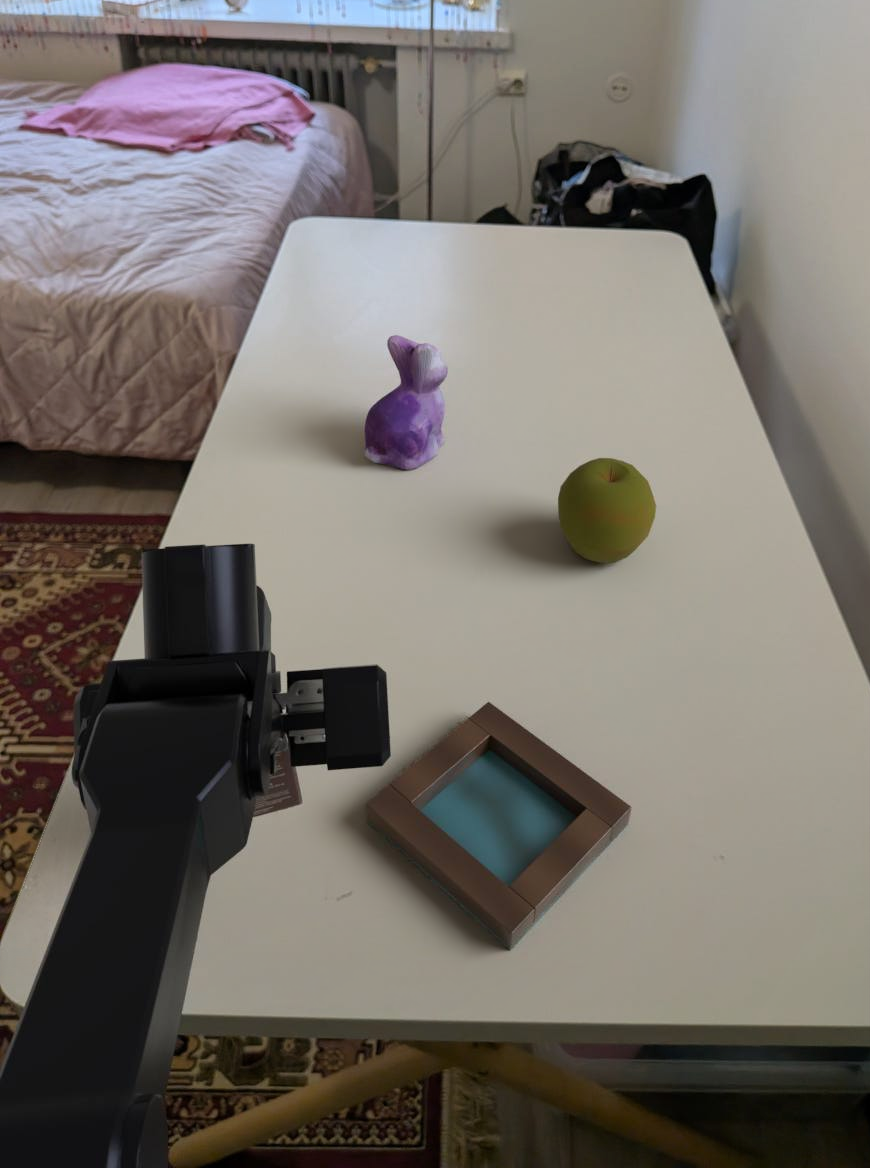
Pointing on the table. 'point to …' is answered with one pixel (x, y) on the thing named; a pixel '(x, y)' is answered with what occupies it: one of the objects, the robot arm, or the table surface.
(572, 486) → the apple
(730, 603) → the table surface
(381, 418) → the figurine
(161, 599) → the robot arm
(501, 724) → the socket
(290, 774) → the box
